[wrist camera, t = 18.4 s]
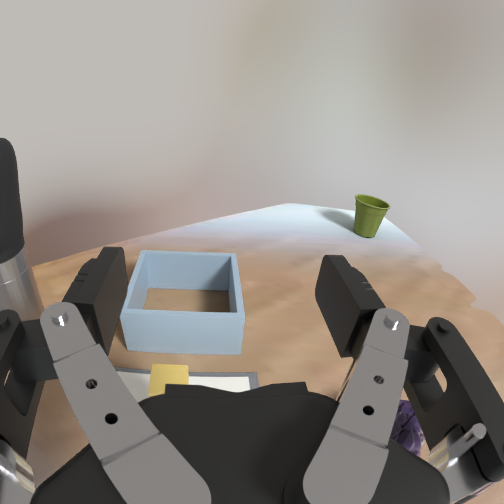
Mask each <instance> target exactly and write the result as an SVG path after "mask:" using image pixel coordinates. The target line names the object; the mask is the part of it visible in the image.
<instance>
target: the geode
mask: <svg viewBox="0 0 504 504" xmlns="http://www.w3.org/2000/svg"><path fill="white" fill-rule="evenodd" d="M390 438H391V439H392V440H394V441H395V442H397V443H398V444H400V445H401V446H403V447H404V448H406V449H407V450H409V451H411V452H412V453H414V454H415V455H417V456H418V457H420V450H421V447H422V446H423V444H424V440H425V437H424V435H423V432H422V430H421V427H420V425H419V422H418V420H417V418H416V415H415V413H414V410H413V408H412V406H411V403H410V401H406V400H400V402H399V406H398V410H397V414H396V417H395V421H394V424H393V428H392V431H391V434H390Z"/></svg>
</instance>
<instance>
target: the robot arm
mask: <svg viewBox="0 0 504 504" xmlns="http://www.w3.org/2000/svg"><path fill="white" fill-rule="evenodd" d="M127 291H128V280H127V272H126V265H125V256H124V250H123V248H122V247H103V249H102V251H101V252H100V254H99V256H98V257H97V259H93V258H92V259H90V260H89V261H88V262H86V263H85V264H84V265H83V266H82V267H81V269H80V271H79V272H78V275H77V276H76V277H75V279H74V281H73V282H72V284H71V286H70V288H69V289H68V291H67V293H66V295H65V296H64V298H63V300H62V302H59V303H55V304H53V305H50V306H49V307H47V308H46V309H44V306H43V304H42V301H41V298H40V295H39V292H38V288H37V285H36V282H35V279H34V275H33V272H32V268H31V265H30V261H29V257H28V254H27V250H26V246H25V242H24V237H23V221H22V211H21V203H20V194H19V183H18V170H17V161H16V156H15V152H14V149H13V146H12V145H11V143H10V142H9V141H8V140H7V139H5V138H0V504H453V503H454V504H463V503H465V502H467V501H469V500H470V499H472V498H474V497H475V496H477V495H479V494H480V493H482V492H484V491H485V490H487V489H489V488H490V487H492V486H493V485H495V484H496V483H498V482H499V481H501V480H502V479H504V403H503V401H502V399H501V397H500V396H499V394H498V392H497V390H496V389H495V387H494V385H493V384H492V382H491V380H490V379H489V377H488V375H487V374H486V372H485V371H484V369H483V367H482V366H481V364H480V363H479V361H478V360H477V358H476V357H475V355H474V354H473V352H472V351H471V349H470V348H469V346H468V345H467V343H466V342H465V340H464V339H463V337H462V336H461V334H460V333H459V332H458V330H457V329H456V327H455V326H454V325H453V324H452V323H451V322H449V321H448V320H446V319H443V318H440V317H433V318H431V319H430V320H429V321H428V323H427V325H426V327H420V326H414V325H410V324H409V321H408V319H407V318H406V317H405V316H404V315H403V314H402V313H400V312H398V311H396V310H394V309H390V308H386V307H385V305H384V304H383V302H382V301H381V299H380V298H379V296H378V295H377V294H376V292H375V291H374V290H373V288H372V286H371V285H370V283H368V281H367V279H366V278H365V276H364V275H363V274H362V273H361V272H359V271H358V270H357V269H356V268H354V267H351V266H350V264H349V263H348V261H347V260H346V258H345V257H344V256H343V255H325V256H324V257H323V260H322V264H321V268H320V272H319V276H318V280H317V283H316V288H315V297H316V301H317V303H318V306H319V308H320V310H321V312H322V315H323V317H324V319H325V322H326V324H327V326H328V328H329V331H330V333H331V335H332V338H333V340H334V342H335V345H336V347H337V349H338V352H339V354H340V357H341V358H343V357H353V359H354V360H353V362H352V364H351V367H350V369H349V371H348V373H347V376H346V378H345V380H344V382H343V385H342V387H341V389H340V391H339V393H338V395H337V397H336V400H334V399H332V398H330V397H327V396H325V395H322V394H319V393H314V392H309V391H308V390H307V386H306V383H305V382H295V383H280V384H270V385H267V386H263V387H259V388H255V389H251V390H247V391H243V392H231V391H226V390H221V389H216V388H212V387H207V386H203V385H186V384H165V394H159V395H155V396H151V397H149V398H146V399H144V400H142V401H140V402H138V403H137V401H136V400H135V399H134V397H133V396H132V394H131V393H130V391H129V390H128V388H127V387H126V385H125V384H124V382H123V381H122V379H121V378H120V376H119V375H118V373H117V372H116V370H115V368H114V367H113V365H112V364H111V362H110V360H109V359H108V357H107V356H108V354H109V351H110V347H111V344H112V340H113V337H114V334H115V330H116V327H117V324H118V321H119V318H120V315H121V312H122V308H123V305H124V302H125V299H126V296H127ZM439 367H440V369H441V371H442V372H443V374H444V376H445V378H446V380H447V388H446V391H445V393H444V392H443V390H442V388H441V386H440V384H439V382H438V380H437V379H436V377H435V375H434V374H435V372H436V371H437V369H438V368H439ZM9 370H10V373H9V375H8V378H7V381H6V383H5V386H4V382H5V379H6V376H7V374H8V371H9ZM51 379H59V380H60V383H61V385H62V387H63V390H64V392H65V394H66V397H67V399H68V401H69V403H70V405H71V407H72V410H73V412H74V414H75V416H76V418H77V420H78V422H79V424H80V426H81V428H82V430H83V432H84V433H85V435H86V437H87V439H88V441H89V444H88V445H87V446H86V447H84V448H83V449H82V450H81V451H80V452H79V453H77V454H76V455H75V456H74V457H73V458H72V459H70V460H69V461H68V462H67V463H66V464H65V465H63V466H62V467H61V468H60V469H59V470H57V471H56V472H55V473H54V474H53V475H51V476H50V477H49V478H48V479H47V480H45V481H44V482H43V483H42V484H41V485H40V486H39V487H38V488H37V489H36V490H35V483H34V475H33V471H32V468H31V466H30V465H29V463H28V462H27V461H26V457H27V451H28V446H29V441H30V437H31V432H32V428H33V424H34V420H35V416H36V412H37V408H38V404H39V401H40V397H41V393H42V390H43V387H44V383H45V380H51ZM403 388H404V390H405V392H406V394H407V397H408V399H409V401H410V403H411V406H412V408H413V410H414V413H415V415H416V418H417V420H418V422H419V425H420V427H421V430H422V432H423V435H424V437H425V440H426V442H427V445H428V447H429V450H430V454H429V463H428V462H426V461H425V460H423V459H421V458H420V457H418V456H417V455H415V454H414V453H412V452H411V451H409V450H407V449H406V448H404V447H403V446H401V445H400V444H398V443H397V442H395V441H394V440H392V439H391V438H390V434H391V431H392V428H393V424H394V421H395V417H396V414H397V410H398V406H399V402H400V398H401V394H402V390H403Z"/></svg>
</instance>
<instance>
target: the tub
mask: <svg viewBox="0 0 504 504" xmlns="http://www.w3.org/2000/svg"><path fill="white" fill-rule="evenodd" d="M149 288H163V289H188V290H221V291H228V293H229V304H230V313H225V312H187V311H163V310H144V309H143V308H144V304H145V301H146V297H147V293H148V289H149ZM120 320H121V324H122V329H123V333H124V338H125V342H126V346H127V350H129V351H142V352H157V353H176V354H206V355H241V347H242V339H243V331H244V322H245V313H244V306H243V299H242V292H241V285H240V278H239V271H238V264H237V257H236V253H209V252H180V251H152V250H141V253H140V256H139V258H138V261H137V263H136V266H135V269H134V271H133V274H132V277H131V279H130V282H129V285H128V291H127V296H126V299H125V302H124V305H123V308H122V312H121V315H120Z"/></svg>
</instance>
